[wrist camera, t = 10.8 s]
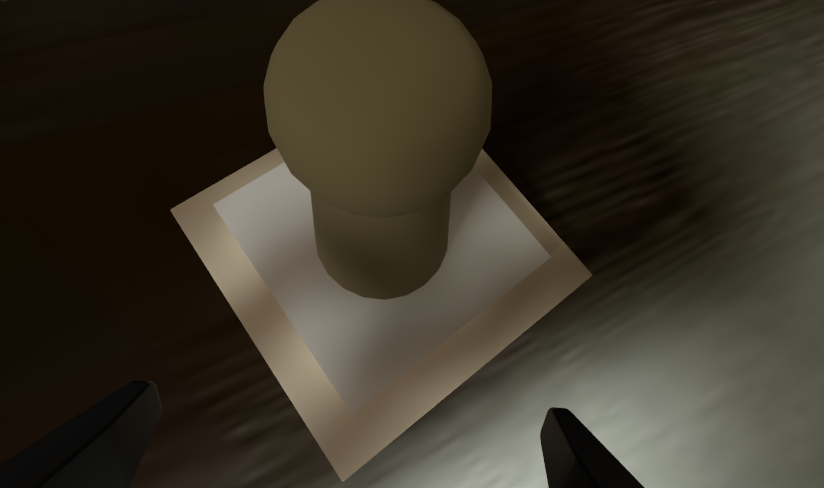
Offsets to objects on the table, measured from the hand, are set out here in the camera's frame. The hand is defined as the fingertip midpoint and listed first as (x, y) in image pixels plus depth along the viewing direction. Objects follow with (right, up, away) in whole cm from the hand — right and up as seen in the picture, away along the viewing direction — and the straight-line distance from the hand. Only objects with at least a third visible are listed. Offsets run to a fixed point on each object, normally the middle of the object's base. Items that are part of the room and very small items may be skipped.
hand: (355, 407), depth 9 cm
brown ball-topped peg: (0, +4, +9) cm, 10 cm away
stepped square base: (0, +3, +13) cm, 13 cm away
